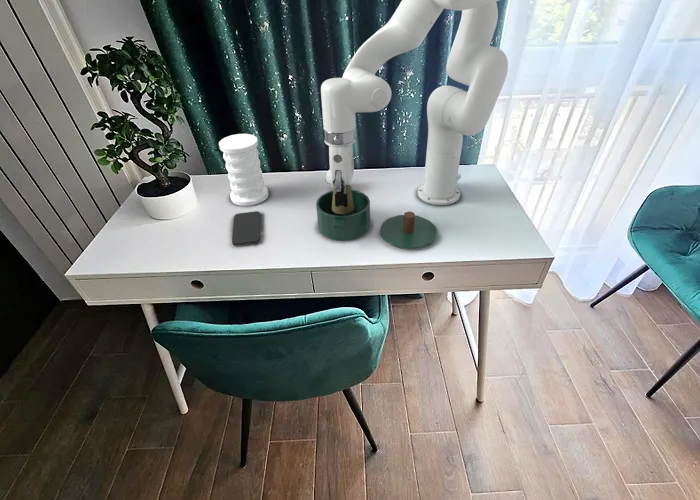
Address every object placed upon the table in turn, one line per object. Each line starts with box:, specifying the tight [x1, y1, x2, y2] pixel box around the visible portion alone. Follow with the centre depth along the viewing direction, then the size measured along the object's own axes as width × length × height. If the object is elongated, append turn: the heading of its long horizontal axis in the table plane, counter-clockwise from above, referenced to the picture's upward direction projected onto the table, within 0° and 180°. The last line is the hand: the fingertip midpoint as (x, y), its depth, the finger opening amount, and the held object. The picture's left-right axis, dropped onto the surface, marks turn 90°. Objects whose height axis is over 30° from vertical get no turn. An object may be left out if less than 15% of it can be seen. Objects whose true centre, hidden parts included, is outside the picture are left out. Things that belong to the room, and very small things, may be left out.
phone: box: [231, 210, 261, 247], centre depth 111 cm, size 7×1×15 cm
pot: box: [315, 186, 371, 242], centre depth 109 cm, size 14×20×8 cm
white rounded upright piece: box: [324, 169, 334, 191], centre depth 124 cm, size 10×7×7 cm
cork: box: [332, 180, 354, 214], centre depth 104 cm, size 6×6×11 cm
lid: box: [379, 211, 438, 250], centre depth 105 cm, size 15×15×6 cm
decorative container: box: [218, 133, 269, 207], centre depth 120 cm, size 12×12×18 cm
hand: (342, 200), depth 106 cm, fingers closed on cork, 4 cm apart
